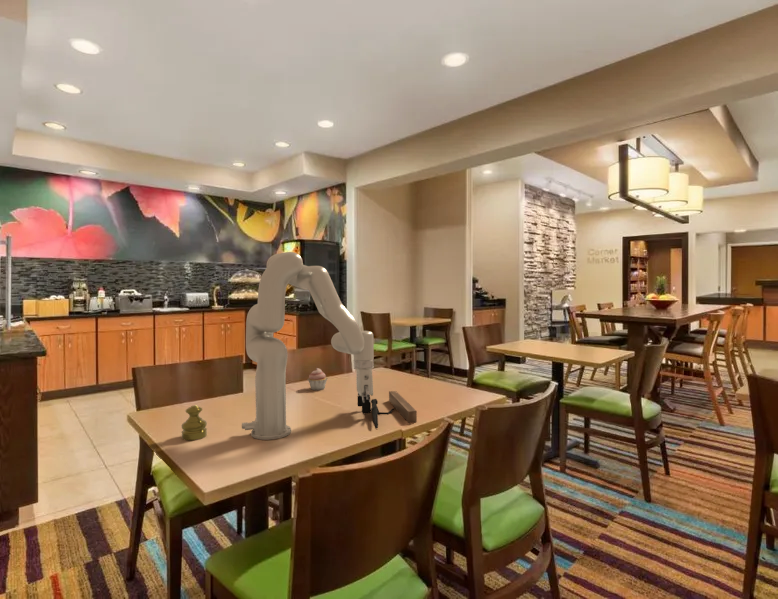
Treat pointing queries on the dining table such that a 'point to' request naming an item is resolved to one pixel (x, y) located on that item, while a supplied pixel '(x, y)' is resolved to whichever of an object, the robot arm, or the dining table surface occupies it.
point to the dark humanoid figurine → (377, 411)
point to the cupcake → (317, 380)
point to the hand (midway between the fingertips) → (364, 409)
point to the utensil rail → (403, 406)
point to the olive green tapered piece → (194, 425)
